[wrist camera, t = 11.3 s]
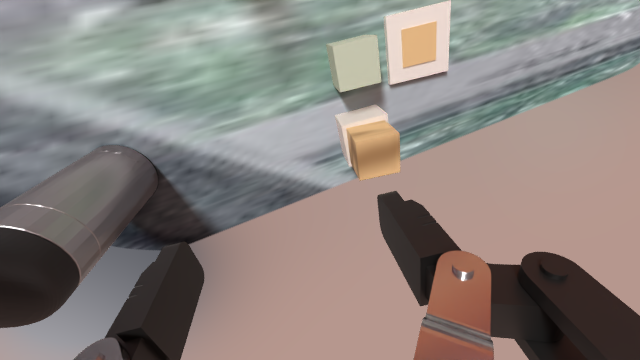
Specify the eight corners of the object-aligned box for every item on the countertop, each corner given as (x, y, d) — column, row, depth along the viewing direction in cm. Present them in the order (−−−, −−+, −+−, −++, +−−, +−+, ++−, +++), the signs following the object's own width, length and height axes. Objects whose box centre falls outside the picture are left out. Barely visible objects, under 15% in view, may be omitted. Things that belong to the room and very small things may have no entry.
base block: (380, 142, 40) (391, 155, 36) (342, 152, 40) (349, 166, 36) (375, 104, 37) (387, 113, 33) (334, 115, 37) (341, 126, 33)
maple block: (386, 155, 36) (400, 171, 31) (350, 162, 36) (359, 180, 31) (384, 120, 33) (399, 133, 29) (346, 128, 33) (355, 142, 29)
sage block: (369, 76, 35) (381, 82, 31) (333, 85, 35) (340, 92, 31) (364, 34, 33) (376, 35, 28) (325, 44, 33) (332, 46, 28)
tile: (444, 69, 36) (448, 70, 35) (388, 83, 36) (390, 85, 35) (447, 1, 32) (451, 0, 31) (383, 16, 32) (386, 16, 31)
